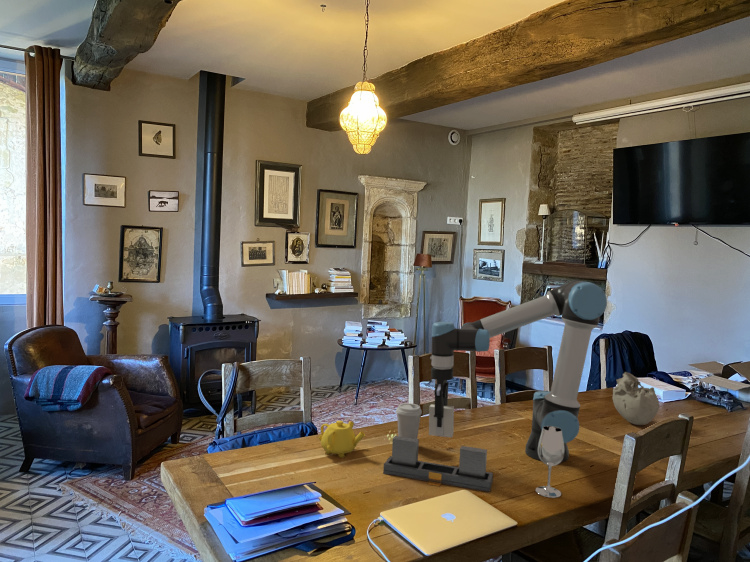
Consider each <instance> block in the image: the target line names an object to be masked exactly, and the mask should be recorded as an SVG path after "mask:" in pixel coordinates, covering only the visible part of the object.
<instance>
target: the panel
mask: <svg viewBox="0 0 750 562" xmlns="http://www.w3.org/2000/svg"><path fill="white" fill-rule="evenodd" d="M428 409H429V410H428V416H429V417H428V435H429V436H435V437H437V436H436V417H434V415H435V404H430V405H429V407H428ZM454 409H455V406H452V405H447V406H444V413H443V416H444V436H441V437H442V438H443V437H444V438H451V439H452V438H453V437H454V423H455V422H454V421H455V420H454V419H455V416H454V415H455V410H454Z"/></svg>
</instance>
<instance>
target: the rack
mask: <svg viewBox="0 0 750 562" xmlns="http://www.w3.org/2000/svg"><path fill="white" fill-rule="evenodd" d="M419 442H420V439H419V438H417V439H414V438H407V437H400V436H398V435H395V436H393V438H392V447H391V448H392V449H391V452H392V453H391V455H389V457H388V458H387V460H386V461H385V462H383V470H382V471H383V473H382V474H384V475H391V476H395V477H403V478H406V479H412V480H419V481H424V482H427V483H426V484H427V485H430V486H436V487H440V486H441V485H448V486H453V487H459V488H465V489H470V490H475V491H482V492H487V493H490V491H491V488H492V485H493V481H494V480H493V475H494V473H493V472H490V471H486V470H487V457H488V456H487V455H488V450H487V449H485V448H479V447H478V448H477V447H473V446H472V447H471V446H465V445H461V446H460V449H459V460H458V461H459V464H458V466H452V465H448V464H441V463H435V462H429V461H422V460H419V447H420V446H419Z"/></svg>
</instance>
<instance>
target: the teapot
mask: <svg viewBox="0 0 750 562" xmlns="http://www.w3.org/2000/svg"><path fill="white" fill-rule="evenodd" d="M354 426H355V422H354V421H352V420H349V421H348V423H345V422H344V420H336V422H332V423H330V424H329V423H323V424H321V426H320V435H319V437H318V440H319V441H320V445H321V446H322V448H323V449H324V451H325V452H324V453H325V455H331V454H335V455H338V457H339V458H345V457H346V456H345V455H346V454H348V453H352V452H353V451H354V449H356V447H357V445H358V443H360V441H361V440H362V439H363V438H365V436H366V433H365V432H363V431H361V430H360V432H359V433H358V434H357V435H356V433H355V431H354V429H353V428H354ZM324 427H327V428H326V429H325V430H324Z"/></svg>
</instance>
